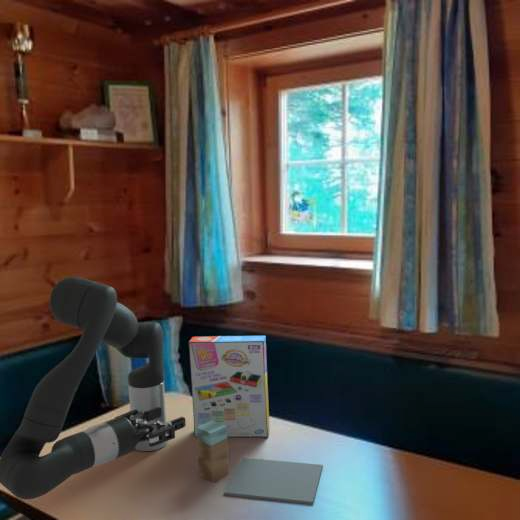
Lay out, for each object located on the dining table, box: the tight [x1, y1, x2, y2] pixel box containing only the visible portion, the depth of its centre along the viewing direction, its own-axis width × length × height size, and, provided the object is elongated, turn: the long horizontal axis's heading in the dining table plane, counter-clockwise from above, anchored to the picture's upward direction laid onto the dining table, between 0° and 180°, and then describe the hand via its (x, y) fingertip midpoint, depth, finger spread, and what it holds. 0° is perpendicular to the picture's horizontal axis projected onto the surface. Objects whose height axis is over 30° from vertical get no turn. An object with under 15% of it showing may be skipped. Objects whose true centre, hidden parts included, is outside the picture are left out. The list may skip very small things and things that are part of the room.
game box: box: [188, 335, 270, 438], centre depth 152 cm, size 21×6×27 cm, turn 84°
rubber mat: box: [223, 457, 324, 505], centre depth 129 cm, size 20×16×1 cm
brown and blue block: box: [196, 420, 230, 483], centre depth 132 cm, size 5×5×12 cm
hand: (172, 416), depth 122 cm, fingers open, 8 cm apart
